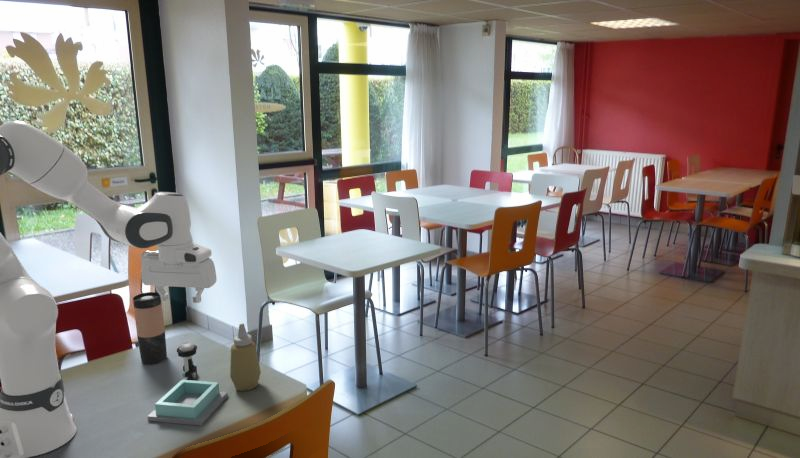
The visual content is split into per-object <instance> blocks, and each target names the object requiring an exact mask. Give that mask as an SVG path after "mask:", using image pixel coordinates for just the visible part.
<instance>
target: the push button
mask: <svg viewBox="0 0 800 458" xmlns="http://www.w3.org/2000/svg"><path fill="white" fill-rule="evenodd" d="M197 350H198V346H197V345H196V344H194V343H193V342H190V341H189V342H184V343H181V344H180V345H179V346H178V347H177V349H176V353H177V355H178V357H180V358H182V359H183V365H182V370H183V373H182V378H183V379H182V380H194V379H195V378H196V377H197V375H198V367H197V365H195V364H194V361H193V356H195V355H196V354H197Z"/></svg>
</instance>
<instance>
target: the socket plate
mask: <svg viewBox="0 0 800 458" xmlns="http://www.w3.org/2000/svg"><path fill="white" fill-rule="evenodd" d="M228 395H229V394H228V391H220V384H219V382H216V381H203V380H194V379H192V380H183V379H181V380H179V382H177V383H176V384H175V385H174V386H172V388H171V389H170V390H169V391H168V392H167V393H165V394H164V395H163V396H161V398H160V399H158V401H156V402H155V403H154V407H155V409H153V411H152V412H150V414H148V415H147V421H148V422H160V423H168V424H169V423H170V424H179V425H181V424H182V425H192V426H202V425H204V423H205V422H206V421H207V420H209V418H210V416H211V415H212V414H213V413H214V412H215V411H216V410H217V409H218V408H219V406H220V405H221V404H222V403H223V402H224V401H225V400H226V399H227V397H228Z"/></svg>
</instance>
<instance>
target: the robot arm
mask: <svg viewBox="0 0 800 458" xmlns="http://www.w3.org/2000/svg"><path fill="white" fill-rule="evenodd" d="M7 172H9V173H10V174H13V175H15V176H16V177H18V178H20V179H21V180H23V181H24V182H26V183H27V184H29V185H30V186H32V187H33V188H35V189H37V190H38V191H40V192H42V193H44V194H46V195H48V196H51V197H53V198H55V199H58V200H62V201H67V202H68V203H71V204H72V205H73V206H75V207H76V208H78V209H79V210H80V211H82V212H83V213H85V214H86V215H88V216H89V217H91V218H92V219H93V220H95V221H96V222H97V224H98V226H99V227H100V229H101V230H102V232H103V233H104V235H105V236H106V237H107V238H108V239H110V240H112V241H114V242H116V243H122V244H125V245H127V246H130V247H133V248H137V249H148V248H151V247H154V246H156V251H155V250H153V251H152V250H151V251H150V250H146V251H144V252H143V253H141V256H140V261H141V266H140V267H141V270H140V275H141V277H140V278H141V283H143V285H145V286H154V288H155V291H156V293H159V295H160V297H161V302H167V301H169V300H170V294H169V292H166V290H165V289H164V287H176V288H177V287H178V288H194V289H195V292H196V294H195V295H193V296H192V303H195V304H199V303H201V302H202V294H203V292H204V290H205V289H210V288H212V287H213V286H214V285H215V284H216V283H217V279H218V278H217V271H216V267H215V263H214V261H213V259H212V258H210V257H211V256H212V250H211V248H208V247H205V246H202V245H200V244H198V243H195V242H194V241H193V236H192V234H191V226H192V225H191V223H192V222H191V221H192V220H191V215H190V207H189V204H188V200H187V198H186V197H185V196H184V195H183V194H181V193H178V192H172V191H158V192H155V193H154V195H153V196H152V197H151V198H150V199H148V201H146V202H145V203H143V204H142V205H140V206H138V207H134V206H133V205H130V204H127V203H122V202H117V201H114V200H113V199H112V198H110V197H108V196H107V195H106V194H104V193H103V192H102V191H100V189H98V188H96V187H95V186H94V185H92V184H91V183H90V181H88V177H89V175H88V168H87V165H86V163H84V161H83V160H81V158H80V157H79V156H78V155H77V154H76V153H75V152H74V151H72V150H71V149H70V148H69V147H67V146H66V145H64V144H63V143H62V142H60V141H59V140H57V139H56V138H54V137H52V135H49V134H47V133H46V132H45V131H43V130H41V129H39V128H37V127H35V126H33V125H31V124H29V123H27V122H25V121H22V120H10V121H7V122H5V123H3V124H1V125H0V177H1V176H3V175H4V174H6V173H7ZM57 304H58V303H56V300H55V298H54V296H53V294H52V293H51V292H50V291H49V290H48V289H46V288H45V287H44V286H42V285H40V284H39V283H38V282H37V281H36V280H34V279H33V278H32V276H30V274H29V273H28V271H27V270H26V269H25V267H24V265H23V264H22V262H21V261H20V260H19V258H18V256H17V254H16V253H15V251H14V250H13V248H12V246H11V244H9V242H8V240H7V239H6V238H5V236H4V235H3V234H2V232H0V383H1V387H0V458H32V457H36V456H39V455H40V456H41V455H43V454H46V453H49V452H52V451H54V450H56V449H58V448H60V447H62V446H63V445H65V444H67V443H68V442H69V441H70V440H72V439H73V437H74V436H75V435H76V433H77V431H78V430H77V425H75V422H74V417H73V414H72V413H71V412H70V409H69V406H68V402H67V399H66V396H65V386H64V379H63V377H62V374H60V369H59V364H58V356H57V351H56V349H57V348H56V332H57V331H56V328H57V327H56V326H57V320H58V316H59V309H58V305H57Z"/></svg>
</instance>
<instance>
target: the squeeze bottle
mask: <svg viewBox="0 0 800 458" xmlns="http://www.w3.org/2000/svg"><path fill="white" fill-rule="evenodd" d="M238 325H239V326H238V330H237V331H238V332H237V335H236V336H234V337H233V344H232V345H231V346H230V366H229V367H230V368H229V369H230V373H229V375H230V377H229V378H230V379H231V382H232V383H233V386H234V387H235V389H236V390H237V391H240V392H241V391H251V390H252V389H255V388H256V387H257V386H258V384H259V380H260V376H261V373H262V372H261V366H260V360H259V356H258V351H257V345H256V343H255V342H254V341H253V339H252V338H253V337H252V335H251V334H249V333H248V332H247V329H246V327H245V323H240V324H238Z"/></svg>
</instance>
